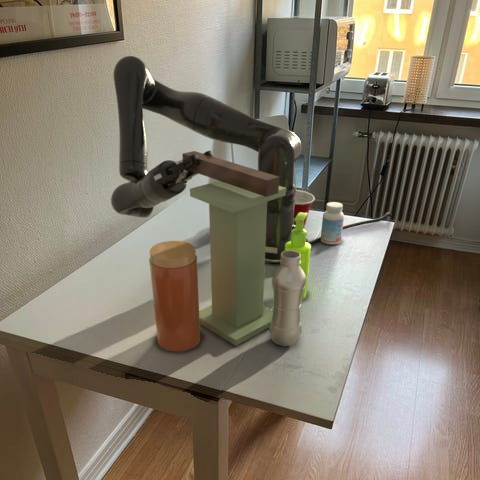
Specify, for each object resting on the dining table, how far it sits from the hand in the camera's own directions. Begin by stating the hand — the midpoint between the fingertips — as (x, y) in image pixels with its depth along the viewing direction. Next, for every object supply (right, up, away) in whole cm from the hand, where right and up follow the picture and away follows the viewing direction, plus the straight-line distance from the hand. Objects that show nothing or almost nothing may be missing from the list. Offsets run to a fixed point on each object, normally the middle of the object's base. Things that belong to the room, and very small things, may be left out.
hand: (203, 157), depth 97 cm
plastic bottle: (+17, -37, +6) cm, 41 cm away
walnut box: (+5, -5, -3) cm, 8 cm away
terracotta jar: (-6, -36, +6) cm, 37 cm away
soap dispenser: (+21, -26, +22) cm, 40 cm away
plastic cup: (+24, -6, +54) cm, 60 cm away
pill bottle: (+34, -9, +49) cm, 61 cm away
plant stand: (+7, -32, +12) cm, 35 cm away
